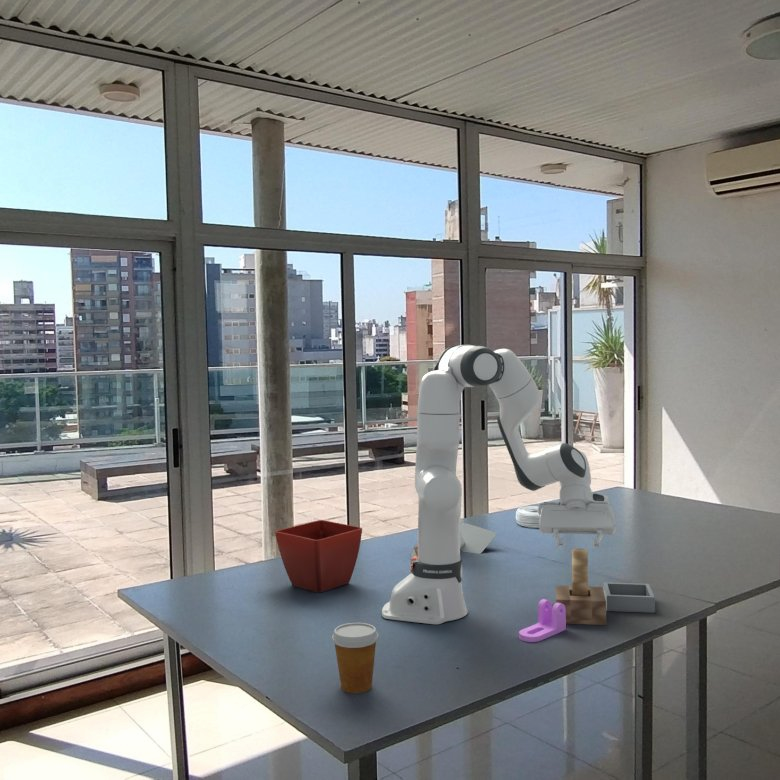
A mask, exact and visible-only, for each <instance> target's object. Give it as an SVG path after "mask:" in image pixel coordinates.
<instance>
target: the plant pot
mask: <svg viewBox="0 0 780 780" xmlns="http://www.w3.org/2000/svg"><path fill="white" fill-rule="evenodd" d="M274 533H275V539H276V543H277V547H278V552H279V555H280V557H281V560H282V564H283V567H284V569H285V571H286V573H287V576H288V579H289V581H290V583H291V585H292V586H293V587H297V588H300V589H304V590H307V591H310V592H314V593H318V594H319V593H323V592H327V591H329V590H332V589H335V588H338V587H341V586H344V585H347V584H349V583H350V582H351V579H352V576H353V573H354V570H355V567H356V563H357V561H358V556H359V551H360V547H361V542H362V534H363V527H360V526H355V525H350V524H346V523H339V522H334V521H330V520H329V521H328V520H325V519H321V520H320V519H319V520H314V521H310V522H306V523H302V524H299V525H294V526H290V527H286V528H282V529H278V530H275V532H274Z"/></svg>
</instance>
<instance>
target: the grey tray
mask: <svg viewBox="0 0 780 780" xmlns="http://www.w3.org/2000/svg"><path fill="white" fill-rule="evenodd" d="M603 591H604V595H605V599H606V612H628V613H629V612H630V613H632V612H633V613H656V597H655V595H654V592H653V590H652V588H651V586H650V583H638V582H637V583H635V582H633V583H632V582H631V583H630V582H607V581H606V582H603Z"/></svg>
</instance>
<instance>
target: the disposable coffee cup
mask: <svg viewBox="0 0 780 780" xmlns="http://www.w3.org/2000/svg"><path fill="white" fill-rule="evenodd" d="M331 639H332V642H333V643H334V647H335V654H336V660H337V662H336V663H337V668H338V674H339V675H338V676H339V681H340V687H341V688H340V689H341V690H342V691H343V692H345V693H350V694H361V693H366V692H368V691H369V690H371V689H372V687H373V678H374V677H373V675H374V668H375V655H376V644H377V641H378V639H379V633H378V632H377V628H376V627H375V626H374V625H373V624H370V623H367V622H366V623H365V622H348V623H343V624H340V625H338V626H337V627H335V628H334V630H333V634H332V635H331Z"/></svg>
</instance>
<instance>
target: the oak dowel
mask: <svg viewBox="0 0 780 780" xmlns="http://www.w3.org/2000/svg"><path fill="white" fill-rule="evenodd" d="M571 586H572V596H588V586H589V551H588V550H587V549H584V548H573V549H571Z"/></svg>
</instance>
